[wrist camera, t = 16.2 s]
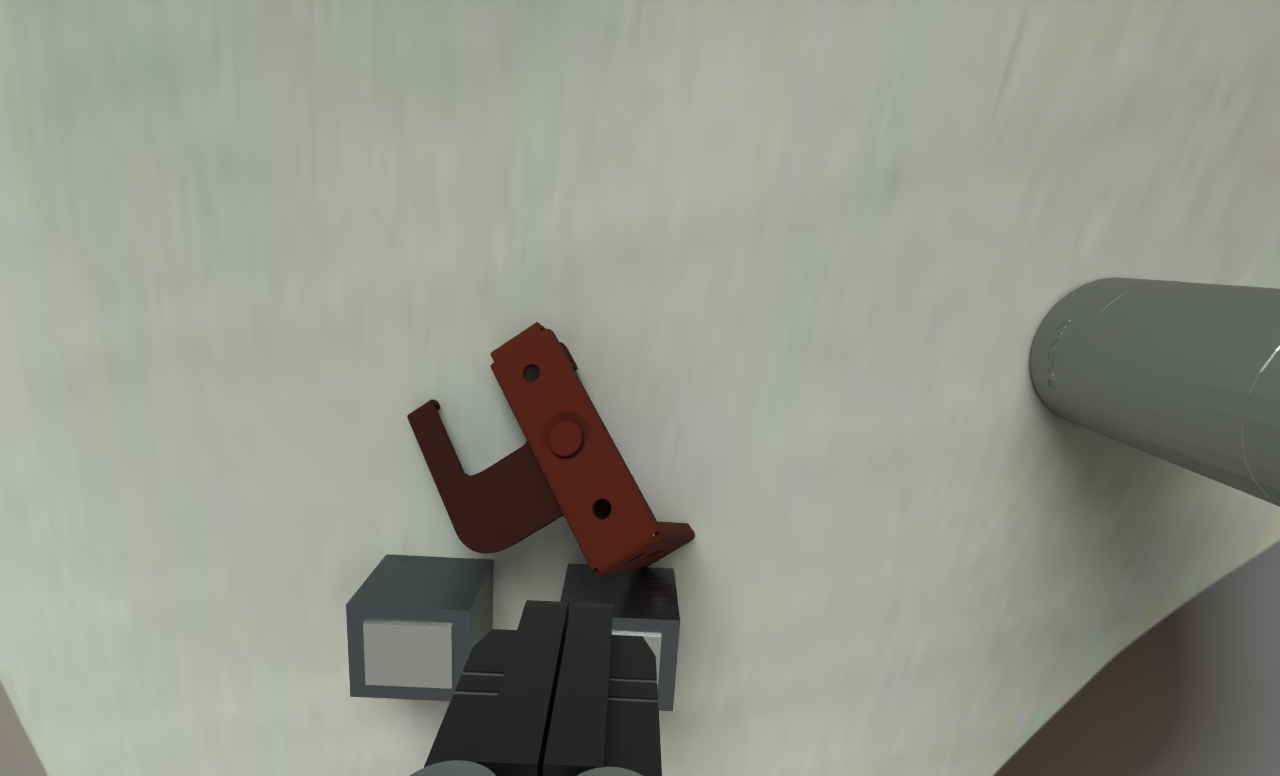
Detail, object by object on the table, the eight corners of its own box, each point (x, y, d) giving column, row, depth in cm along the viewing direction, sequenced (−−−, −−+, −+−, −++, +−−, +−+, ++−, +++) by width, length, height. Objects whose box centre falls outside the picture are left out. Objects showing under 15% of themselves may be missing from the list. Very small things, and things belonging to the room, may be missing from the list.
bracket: (565, 615, 43) (494, 638, 34) (480, 435, 48) (397, 411, 38) (697, 537, 42) (661, 538, 33) (597, 359, 47) (540, 316, 37)
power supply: (492, 559, 42) (469, 612, 36) (492, 643, 44) (469, 707, 38) (386, 554, 42) (344, 606, 36) (389, 638, 43) (349, 702, 37)
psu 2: (673, 568, 42) (680, 622, 36) (667, 651, 44) (672, 716, 38) (568, 563, 42) (557, 616, 36) (565, 646, 44) (554, 711, 38)
